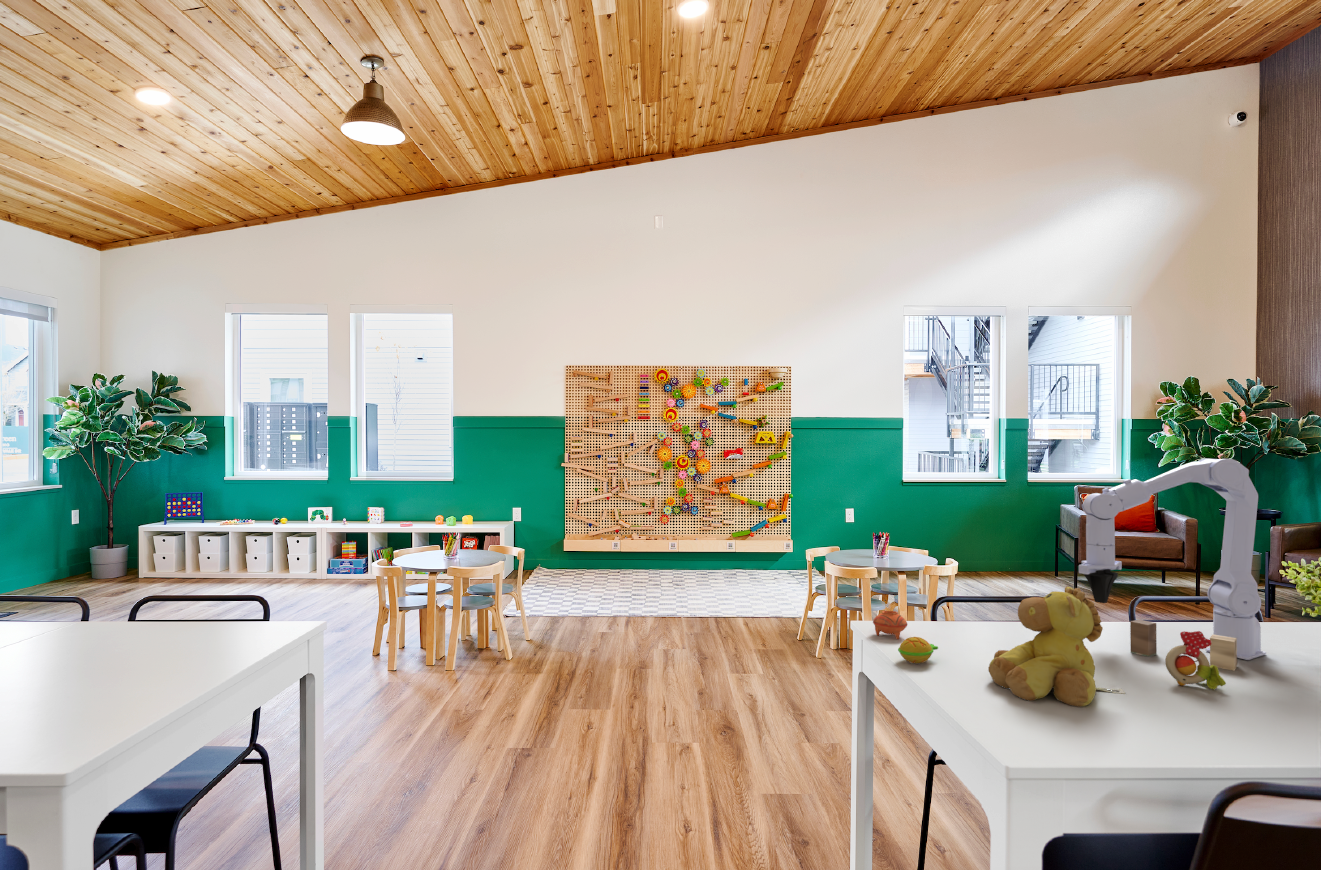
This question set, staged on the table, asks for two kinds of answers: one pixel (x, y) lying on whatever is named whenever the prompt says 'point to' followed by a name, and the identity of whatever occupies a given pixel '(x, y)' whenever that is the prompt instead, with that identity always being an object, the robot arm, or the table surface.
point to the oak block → (1223, 652)
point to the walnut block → (1143, 638)
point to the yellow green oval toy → (916, 650)
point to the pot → (889, 623)
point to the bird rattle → (1192, 662)
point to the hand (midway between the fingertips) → (1100, 602)
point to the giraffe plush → (1053, 650)
